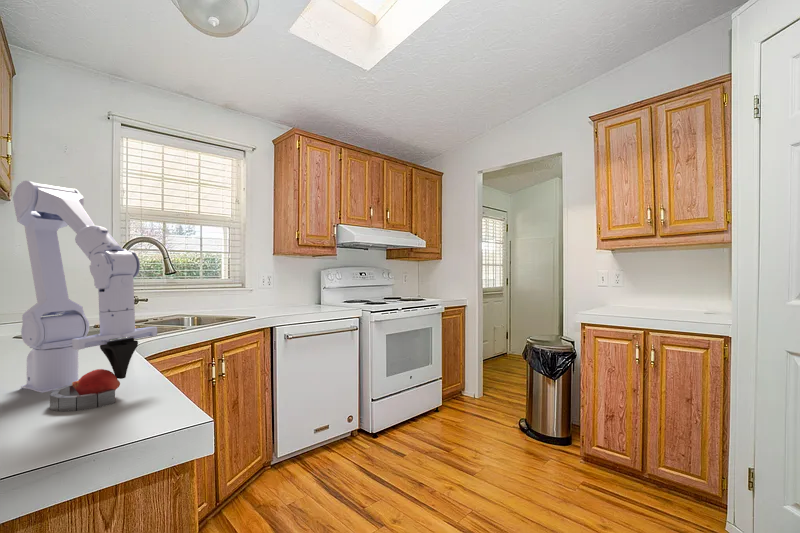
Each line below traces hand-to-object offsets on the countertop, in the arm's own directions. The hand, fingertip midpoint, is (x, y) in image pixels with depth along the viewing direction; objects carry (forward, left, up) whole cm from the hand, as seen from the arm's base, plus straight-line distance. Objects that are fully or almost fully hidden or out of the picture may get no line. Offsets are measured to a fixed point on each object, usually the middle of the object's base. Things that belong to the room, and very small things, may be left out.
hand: (119, 378), depth 76 cm
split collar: (-1, -5, -3) cm, 6 cm away
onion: (0, 0, -2) cm, 2 cm away
